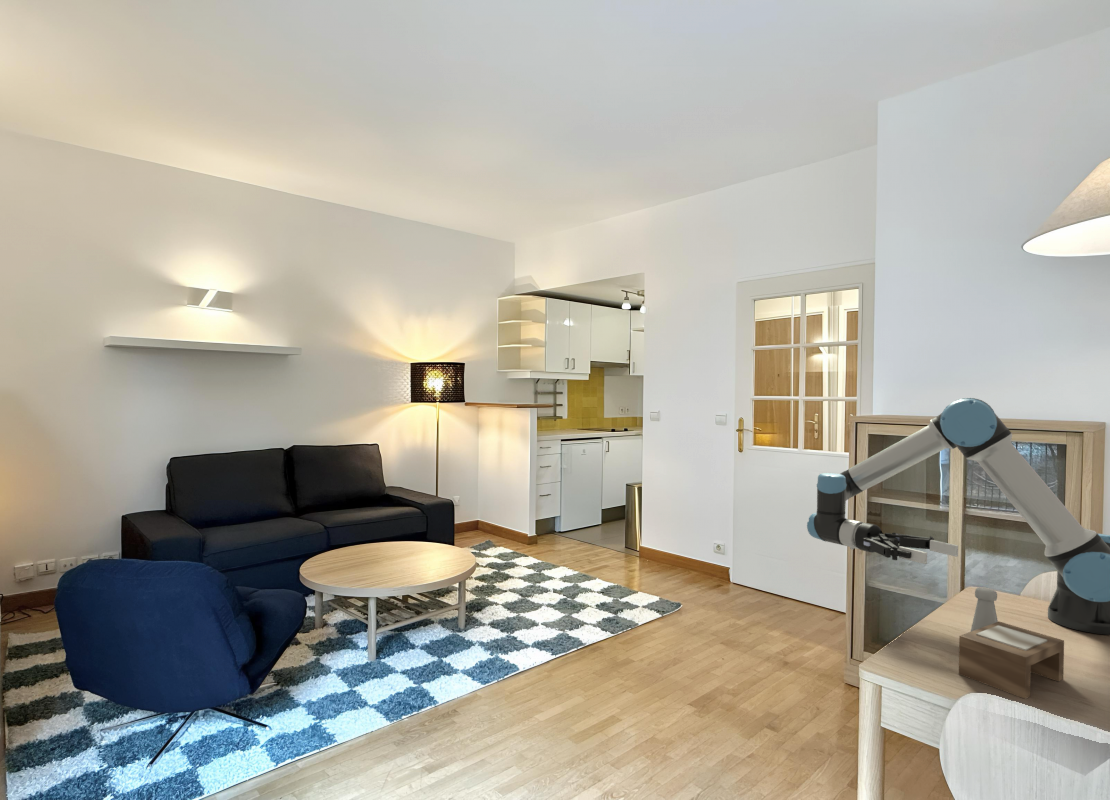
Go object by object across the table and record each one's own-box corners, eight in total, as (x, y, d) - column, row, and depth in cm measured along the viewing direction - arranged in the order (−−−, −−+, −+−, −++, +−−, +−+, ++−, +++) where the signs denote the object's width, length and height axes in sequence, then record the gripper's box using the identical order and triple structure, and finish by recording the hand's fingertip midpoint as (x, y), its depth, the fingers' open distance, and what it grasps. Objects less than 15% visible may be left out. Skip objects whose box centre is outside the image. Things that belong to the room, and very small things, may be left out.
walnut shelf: (998, 657, 139) (998, 620, 139) (1063, 679, 129) (1064, 639, 128) (958, 673, 131) (959, 634, 131) (1024, 698, 121) (1025, 655, 120)
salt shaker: (1005, 650, 142) (1006, 593, 142) (977, 648, 144) (978, 592, 143) (992, 640, 148) (993, 585, 148) (965, 638, 149) (966, 584, 149)
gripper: (888, 544, 179) (968, 562, 160) (832, 555, 166) (912, 577, 148) (889, 517, 178) (969, 533, 160) (832, 527, 166) (912, 545, 148)
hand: (942, 554), depth 154 cm, fingers open, 13 cm apart
